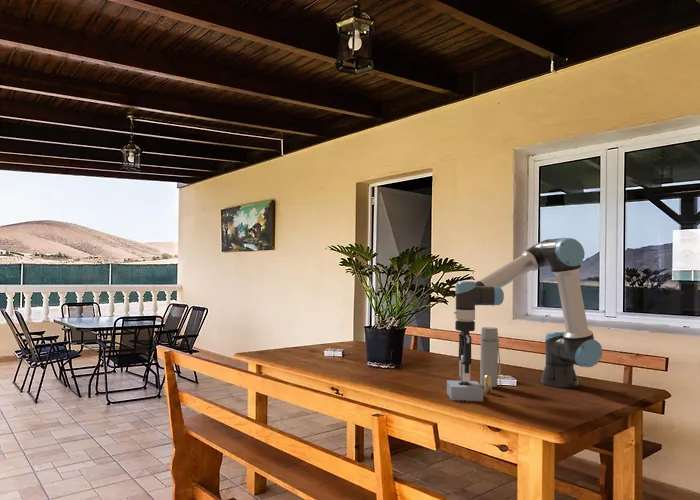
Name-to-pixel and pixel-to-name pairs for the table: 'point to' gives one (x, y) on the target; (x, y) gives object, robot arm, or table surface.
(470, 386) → the socket block
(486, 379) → the short pin
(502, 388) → the table surface
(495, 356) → the water bottle
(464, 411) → the table surface
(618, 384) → the table surface
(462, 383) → the long pin
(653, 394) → the table surface
